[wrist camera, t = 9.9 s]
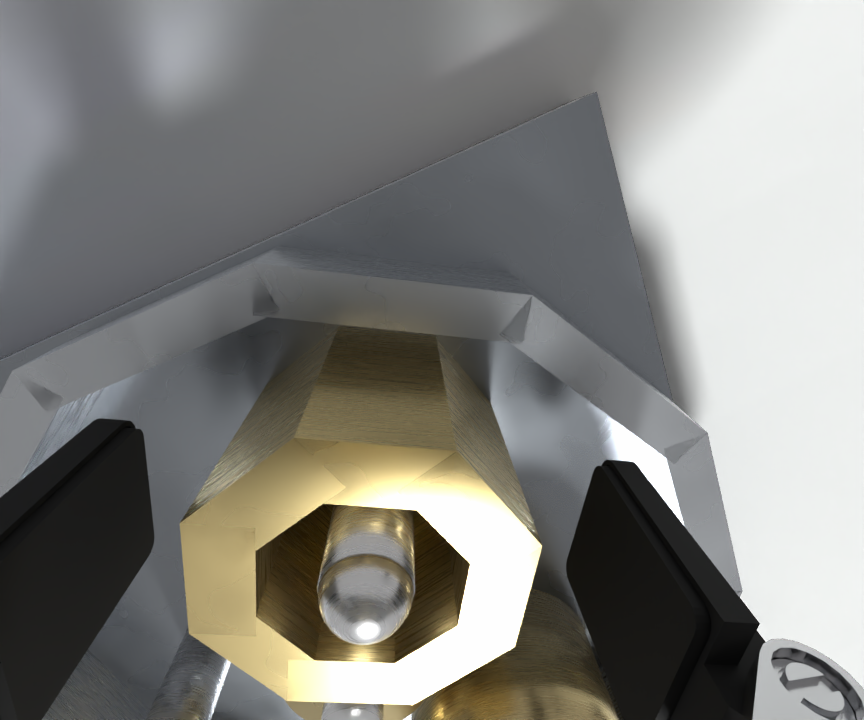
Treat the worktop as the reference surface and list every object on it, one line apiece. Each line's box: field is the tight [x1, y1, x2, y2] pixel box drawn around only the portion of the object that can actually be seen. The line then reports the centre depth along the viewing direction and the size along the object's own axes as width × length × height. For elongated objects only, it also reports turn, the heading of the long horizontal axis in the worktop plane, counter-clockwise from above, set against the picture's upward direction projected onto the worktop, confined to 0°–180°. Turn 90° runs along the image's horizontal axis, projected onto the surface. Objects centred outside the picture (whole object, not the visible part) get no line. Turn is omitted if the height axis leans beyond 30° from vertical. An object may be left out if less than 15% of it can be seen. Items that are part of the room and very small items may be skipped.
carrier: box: [0, 92, 742, 720], centre depth 12 cm, size 20×20×7 cm
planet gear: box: [180, 326, 542, 705], centre depth 10 cm, size 6×6×5 cm
